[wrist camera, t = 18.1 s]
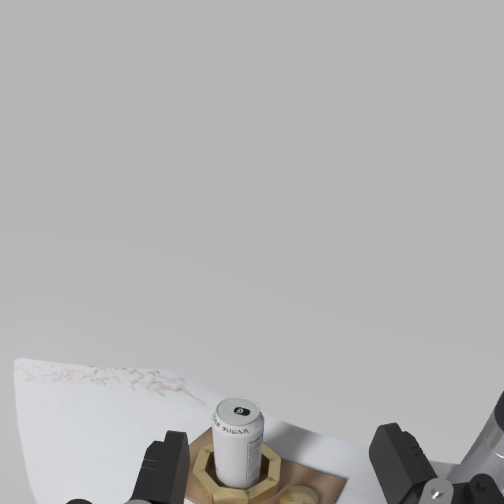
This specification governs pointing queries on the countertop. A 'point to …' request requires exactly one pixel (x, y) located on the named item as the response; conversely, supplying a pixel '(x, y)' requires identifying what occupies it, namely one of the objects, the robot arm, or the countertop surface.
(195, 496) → the walnut carrier plate
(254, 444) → the energy drink can
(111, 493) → the countertop surface
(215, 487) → the brass socket ring
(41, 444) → the countertop surface
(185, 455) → the robot arm
